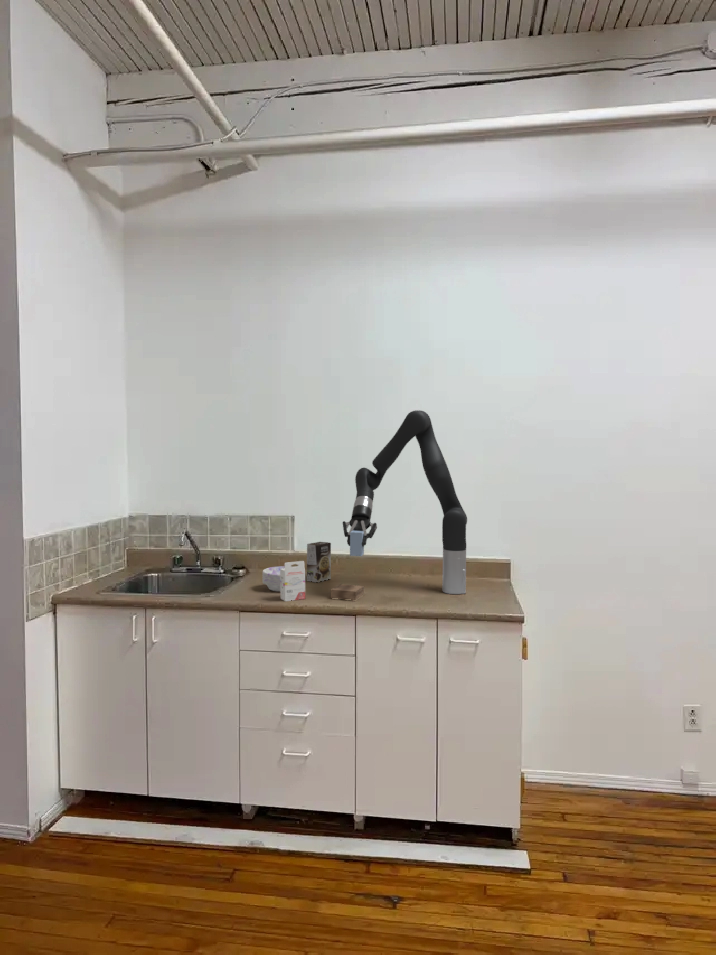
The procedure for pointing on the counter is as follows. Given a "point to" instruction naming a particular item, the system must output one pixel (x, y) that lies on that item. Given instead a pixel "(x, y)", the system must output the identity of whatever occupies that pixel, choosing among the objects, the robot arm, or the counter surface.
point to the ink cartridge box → (292, 581)
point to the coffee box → (318, 561)
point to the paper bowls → (272, 577)
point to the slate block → (356, 543)
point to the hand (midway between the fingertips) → (356, 545)
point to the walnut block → (347, 592)
